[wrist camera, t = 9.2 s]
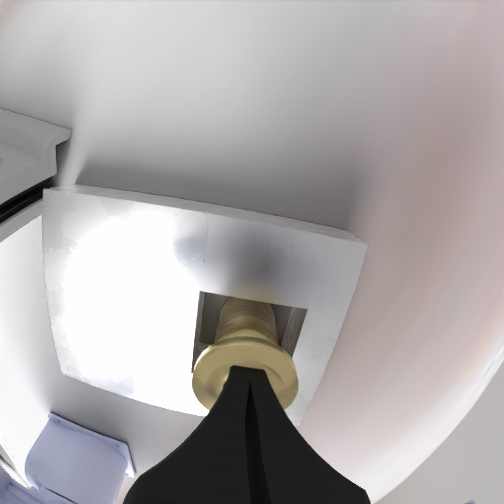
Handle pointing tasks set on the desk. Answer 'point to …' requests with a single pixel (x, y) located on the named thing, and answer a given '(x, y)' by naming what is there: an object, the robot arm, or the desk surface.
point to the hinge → (25, 167)
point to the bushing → (244, 353)
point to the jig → (183, 287)
